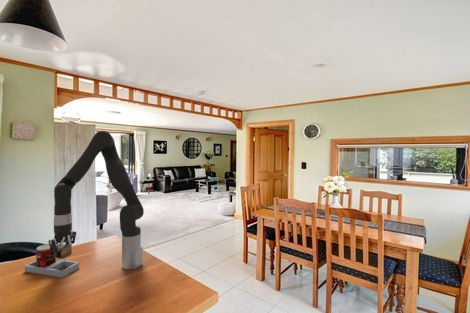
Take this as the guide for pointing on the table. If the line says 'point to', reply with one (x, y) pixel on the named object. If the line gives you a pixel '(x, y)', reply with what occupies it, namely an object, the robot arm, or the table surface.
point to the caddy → (53, 268)
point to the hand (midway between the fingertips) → (63, 255)
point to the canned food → (45, 256)
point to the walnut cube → (65, 251)
